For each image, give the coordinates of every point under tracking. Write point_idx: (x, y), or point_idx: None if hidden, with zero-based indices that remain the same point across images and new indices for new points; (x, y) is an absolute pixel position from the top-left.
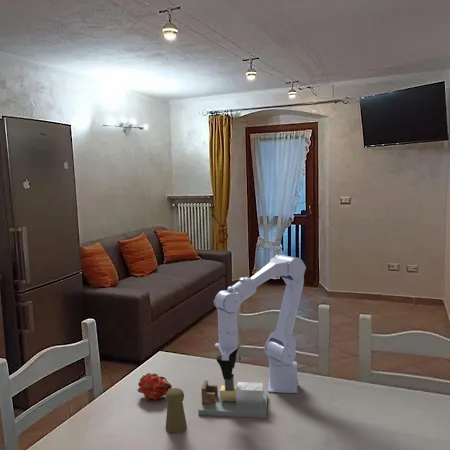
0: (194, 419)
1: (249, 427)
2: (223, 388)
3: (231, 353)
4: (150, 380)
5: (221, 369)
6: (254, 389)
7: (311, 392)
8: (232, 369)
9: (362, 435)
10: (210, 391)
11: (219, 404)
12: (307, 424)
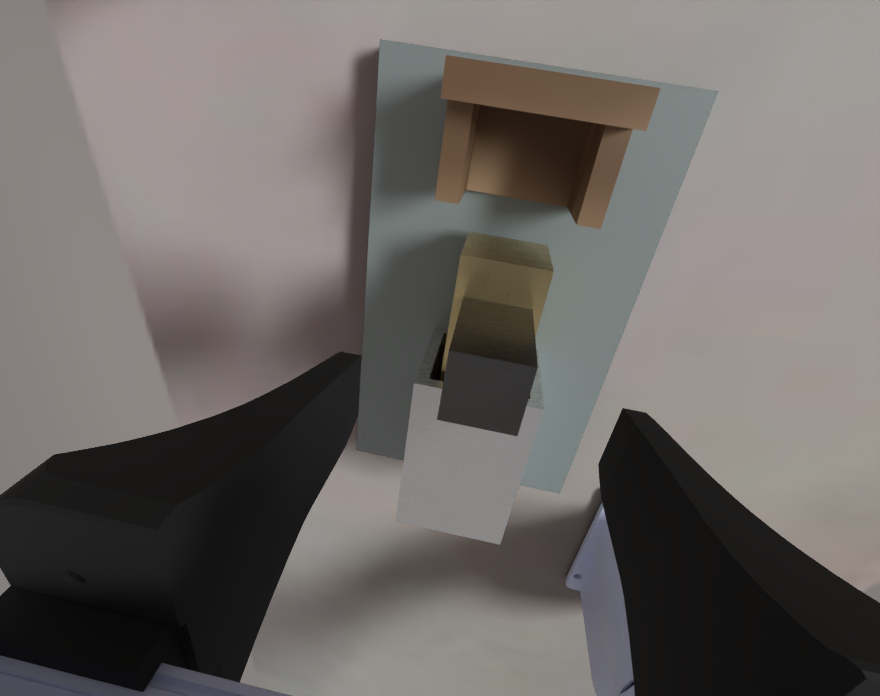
0: (328, 14)
1: (282, 357)
2: (492, 285)
3: (663, 629)
4: None
5: (243, 404)
6: (414, 487)
7: (564, 618)
8: (308, 507)
9: (286, 635)
10: (588, 150)
11: (454, 218)
12: (328, 546)
